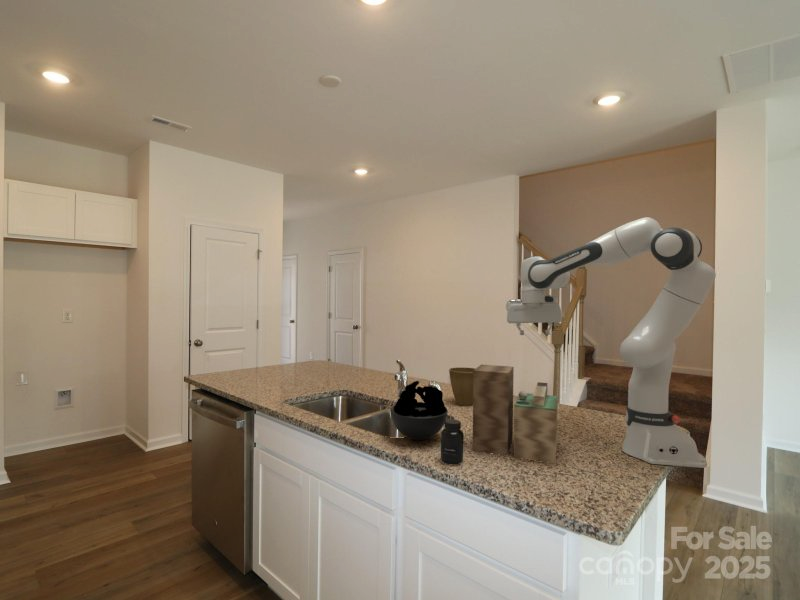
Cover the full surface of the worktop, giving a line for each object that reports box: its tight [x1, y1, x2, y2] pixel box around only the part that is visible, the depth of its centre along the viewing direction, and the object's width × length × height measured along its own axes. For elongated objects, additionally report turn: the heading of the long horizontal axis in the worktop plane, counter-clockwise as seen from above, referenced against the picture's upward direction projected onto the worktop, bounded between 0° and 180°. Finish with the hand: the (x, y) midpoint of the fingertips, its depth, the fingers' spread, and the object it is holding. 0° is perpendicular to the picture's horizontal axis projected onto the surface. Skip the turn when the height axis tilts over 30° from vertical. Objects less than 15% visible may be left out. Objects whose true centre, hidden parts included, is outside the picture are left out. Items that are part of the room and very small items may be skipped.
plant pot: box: [448, 366, 476, 407], centre depth 193 cm, size 15×15×16 cm
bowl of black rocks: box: [389, 380, 448, 441], centre depth 145 cm, size 20×20×19 cm
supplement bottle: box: [440, 418, 465, 465], centre depth 125 cm, size 7×7×12 cm
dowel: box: [532, 382, 548, 407], centre depth 136 cm, size 3×22×3 cm, turn 158°
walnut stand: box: [471, 364, 514, 456], centre depth 137 cm, size 11×13×26 cm
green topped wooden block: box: [513, 390, 558, 465], centre depth 134 cm, size 12×18×19 cm, turn 158°
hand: (534, 334), depth 159 cm, fingers open, 8 cm apart
